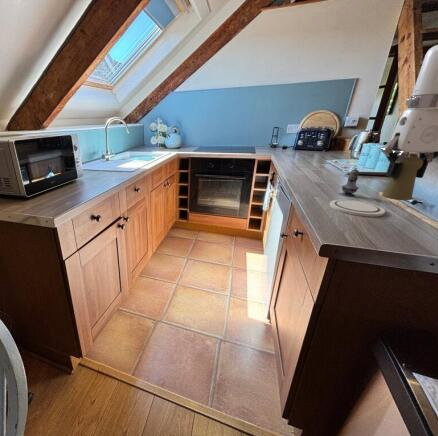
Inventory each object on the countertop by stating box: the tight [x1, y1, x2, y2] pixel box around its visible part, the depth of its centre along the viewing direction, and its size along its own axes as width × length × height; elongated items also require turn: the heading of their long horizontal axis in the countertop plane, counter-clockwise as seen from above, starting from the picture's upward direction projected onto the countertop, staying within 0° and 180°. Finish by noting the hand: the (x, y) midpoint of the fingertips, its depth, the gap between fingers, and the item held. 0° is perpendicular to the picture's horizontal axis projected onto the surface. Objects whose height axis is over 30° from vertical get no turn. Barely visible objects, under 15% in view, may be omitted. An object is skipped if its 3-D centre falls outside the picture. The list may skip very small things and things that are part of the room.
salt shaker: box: [340, 167, 360, 198], centre depth 104 cm, size 6×6×12 cm
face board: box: [329, 199, 386, 218], centre depth 91 cm, size 16×16×1 cm
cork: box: [381, 156, 423, 201], centre depth 66 cm, size 6×6×11 cm
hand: (403, 176), depth 66 cm, fingers closed on cork, 5 cm apart
